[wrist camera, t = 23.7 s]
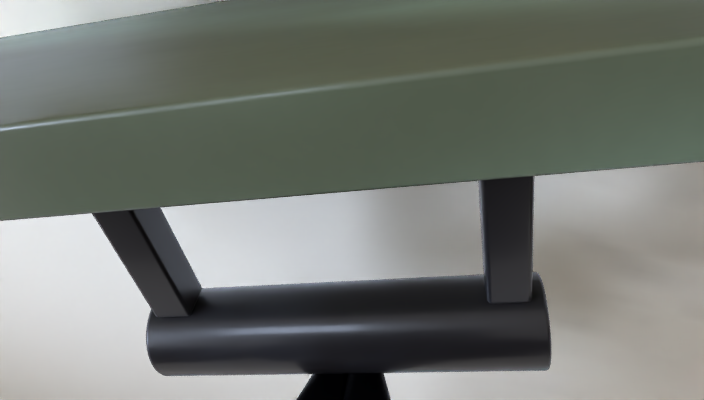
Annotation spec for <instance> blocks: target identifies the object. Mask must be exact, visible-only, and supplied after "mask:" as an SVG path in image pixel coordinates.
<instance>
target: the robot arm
mask: <svg viewBox="0 0 704 400" xmlns="http://www.w3.org/2000/svg"><path fill="white" fill-rule="evenodd" d="M297 400H390V396H389V392H388V388H387V385H386V381H385V377H384V373H342V374H313V375H312V376H311V378H310V379H309V381H308V383H307V384H306V386H305V387H304V389H303V390H302V392H301V393H300V395H299V397H298V398H297Z"/></svg>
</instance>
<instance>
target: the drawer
mask: <svg viewBox="0 0 704 400" xmlns="http://www.w3.org/2000/svg"><path fill="white" fill-rule="evenodd" d="M693 162H704V0H226V1H220V2H214V3H208V4H202V5H196V6H190V7H184V8H178V9H171V10H165V11H159V12H153V13H147V14H141V15H135V16H129V17H123V18H117V19H111V20H105V21H99V22H93V23H87V24H81V25H74V26H68V27H62V28H56V29H50V30H44V31H38V32H32V33H26V34H20V35H14V36H8V37H2V38H0V221H4V220H16V219H28V218H40V217H52V216H64V215H76V214H87V213H92V214H93V216H94V217H95V219H96V221H97V222H98V224H99V225H100V227H101V229H102V230H103V232H104V233H105V235H106V237H107V238H108V240H109V242H110V243H111V245H112V246H113V248H114V250H115V251H116V253H117V254H118V256H119V258H120V259H121V261H122V262H123V264H124V266H125V267H126V269H127V270H128V272H129V274H130V275H131V277H132V278H133V280H134V282H135V283H136V285H137V287H138V288H139V290H140V291H141V293H142V295H143V296H144V298H145V299H146V301H147V303H148V304H149V306H150V307H151V312H150V315H149V318H148V323H147V331H146V344H147V351H148V355H149V359H150V361H151V363H152V365H153V367H154V368H155V370H156V371H157V372H159V373H160V374H162V375H165V376H206V375H274V374H342V373H410V372H478V371H545V370H548V369H549V367H550V364H551V332H550V321H549V313H548V306H547V300H546V294H545V289H544V285H543V282H542V279H541V277H540V275H539V273H537V272H533V220H534V176H539V175H551V174H562V173H574V172H586V171H598V170H610V169H622V168H634V167H646V166H657V165H669V164H681V163H693ZM467 181H478V187H479V204H480V221H481V237H482V254H483V271H484V274H481V275H461V276H441V277H421V278H401V279H381V280H361V281H341V282H321V283H301V284H281V285H261V286H241V287H221V288H201V285H200V283H199V281H198V279H197V277H196V275H195V274H194V272H193V270H192V268H191V266H190V264H189V262H188V260H187V258H186V256H185V254H184V252H183V250H182V249H181V247H180V245H179V243H178V241H177V239H176V237H175V235H174V233H173V231H172V229H171V227H170V225H169V223H168V222H167V220H166V218H165V216H164V214H163V212H162V210H161V208H160V207H171V206H182V205H194V204H206V203H218V202H230V201H242V200H254V199H266V198H277V197H289V196H301V195H313V194H325V193H337V192H349V191H361V190H372V189H384V188H396V187H408V186H420V185H432V184H444V183H456V182H467Z"/></svg>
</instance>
